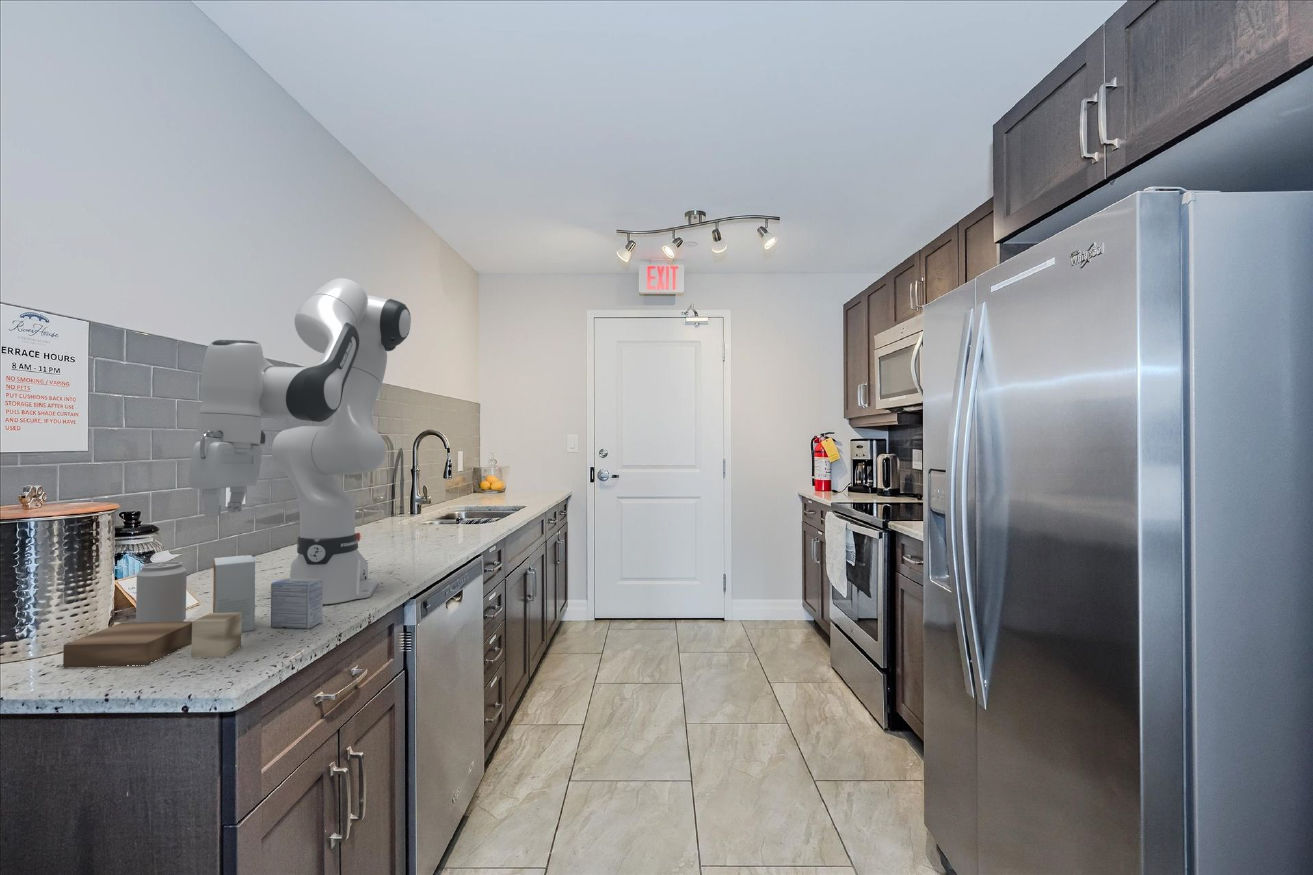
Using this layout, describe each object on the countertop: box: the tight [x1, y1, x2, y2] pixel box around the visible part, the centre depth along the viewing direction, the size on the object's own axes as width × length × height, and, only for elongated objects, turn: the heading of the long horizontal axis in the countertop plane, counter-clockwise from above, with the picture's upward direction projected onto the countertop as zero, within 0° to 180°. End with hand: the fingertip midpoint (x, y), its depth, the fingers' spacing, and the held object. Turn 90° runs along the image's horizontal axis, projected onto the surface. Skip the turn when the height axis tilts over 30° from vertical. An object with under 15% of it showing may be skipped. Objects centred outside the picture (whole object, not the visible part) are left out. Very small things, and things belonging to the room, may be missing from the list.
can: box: [135, 560, 188, 622], centre depth 118 cm, size 8×8×12 cm
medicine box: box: [270, 577, 324, 629], centre depth 120 cm, size 8×4×9 cm, turn 84°
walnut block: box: [62, 620, 193, 668], centre depth 103 cm, size 12×12×4 cm
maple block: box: [190, 612, 242, 659], centre depth 104 cm, size 5×5×6 cm
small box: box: [212, 554, 256, 633], centre depth 117 cm, size 8×6×13 cm
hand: (223, 514), depth 104 cm, fingers open, 8 cm apart
